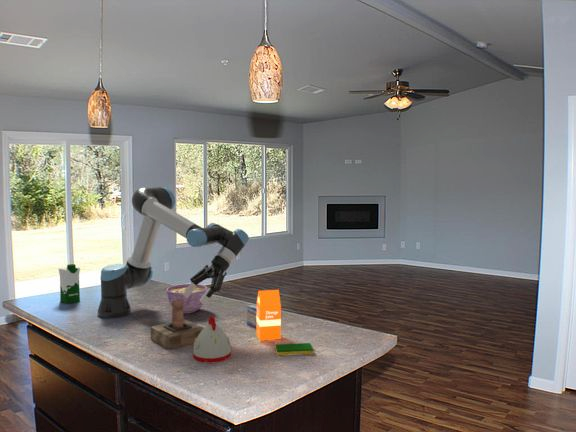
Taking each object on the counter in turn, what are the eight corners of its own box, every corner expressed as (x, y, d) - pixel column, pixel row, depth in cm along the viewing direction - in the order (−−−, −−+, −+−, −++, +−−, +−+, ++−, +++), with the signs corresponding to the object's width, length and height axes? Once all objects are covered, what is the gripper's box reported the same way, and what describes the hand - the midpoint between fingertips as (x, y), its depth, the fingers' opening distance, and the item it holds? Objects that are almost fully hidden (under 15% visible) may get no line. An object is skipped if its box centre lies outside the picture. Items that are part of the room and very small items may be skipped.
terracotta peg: (170, 339, 194) (170, 301, 193) (180, 336, 197) (179, 299, 196) (175, 342, 191) (175, 303, 190) (185, 339, 194) (185, 301, 193)
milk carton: (66, 304, 245) (65, 266, 243) (57, 301, 250) (56, 264, 249) (82, 301, 252) (81, 264, 251) (73, 298, 257) (72, 262, 256)
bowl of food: (204, 304, 248) (204, 282, 247) (210, 315, 229) (210, 291, 228) (165, 307, 241) (164, 285, 241) (168, 318, 223) (167, 294, 222)
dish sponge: (275, 350, 184) (275, 344, 184) (310, 348, 186) (310, 342, 186) (277, 356, 177) (277, 350, 177) (313, 355, 179) (313, 349, 179)
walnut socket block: (150, 338, 195) (150, 325, 194) (185, 330, 205) (185, 318, 205) (169, 349, 183) (169, 335, 182) (205, 340, 193) (205, 326, 193)
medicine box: (246, 324, 215) (246, 305, 214) (253, 322, 218) (253, 304, 217) (258, 328, 209) (258, 309, 209) (265, 326, 213) (265, 307, 212)
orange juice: (256, 335, 200) (256, 288, 199) (276, 333, 203) (276, 287, 201) (259, 341, 193) (260, 293, 191) (280, 339, 195) (281, 291, 193)
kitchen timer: (197, 365, 168) (197, 323, 167) (189, 352, 180) (189, 313, 179) (235, 359, 173) (235, 319, 172) (225, 347, 186) (225, 309, 185)
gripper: (245, 269, 198) (215, 311, 190) (212, 261, 217) (183, 298, 208) (234, 258, 194) (203, 300, 186) (202, 250, 213) (172, 288, 204)
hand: (193, 299), depth 197 cm, fingers open, 13 cm apart
